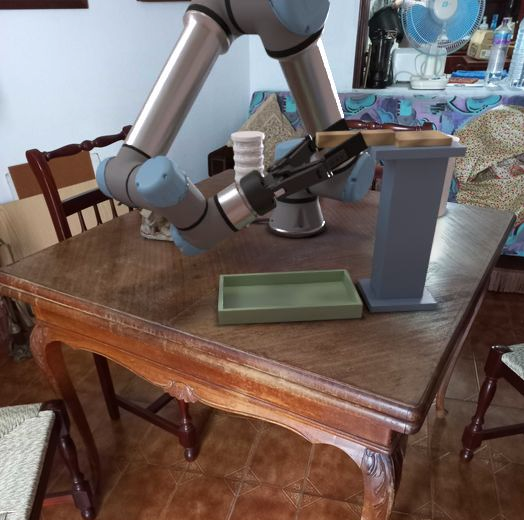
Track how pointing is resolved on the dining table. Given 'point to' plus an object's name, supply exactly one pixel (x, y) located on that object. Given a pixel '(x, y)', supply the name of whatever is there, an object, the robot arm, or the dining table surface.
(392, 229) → the stand
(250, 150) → the decorative container
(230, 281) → the tray
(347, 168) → the robot arm
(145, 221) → the ceramic cottage
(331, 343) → the dining table surface
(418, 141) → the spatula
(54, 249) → the dining table surface
